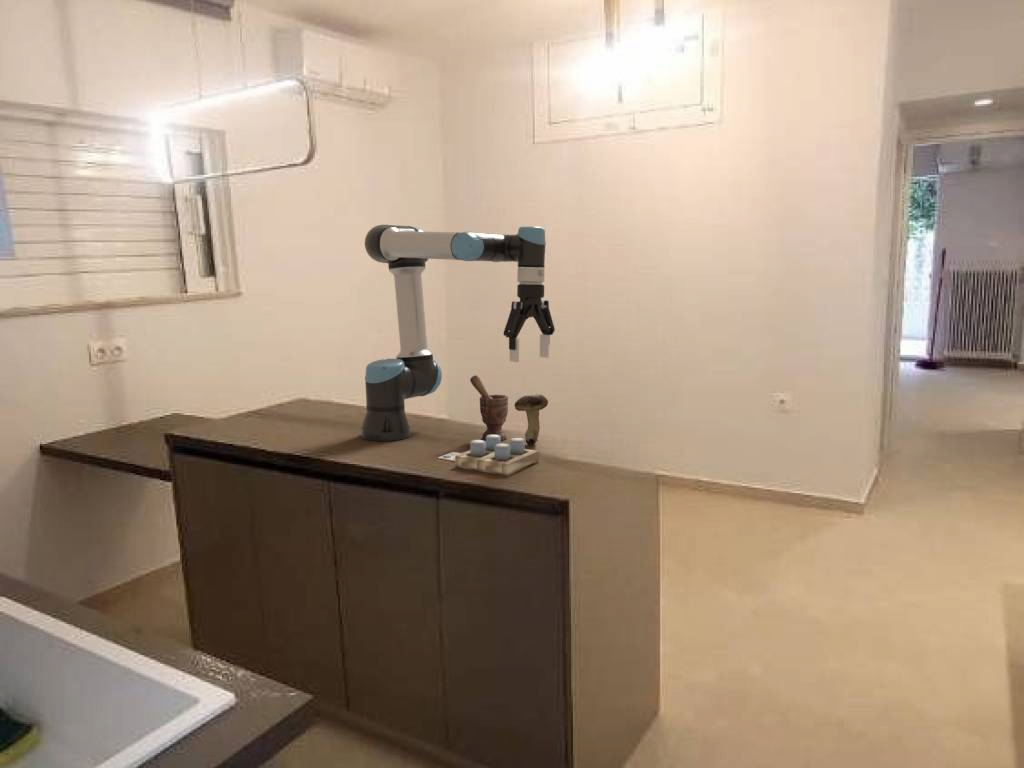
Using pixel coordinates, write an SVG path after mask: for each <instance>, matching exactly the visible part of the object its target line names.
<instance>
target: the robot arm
mask: <svg viewBox="0 0 1024 768" xmlns="http://www.w3.org/2000/svg"><path fill="white" fill-rule="evenodd" d="M546 244H547V242H546V231H545V228H544V227H541V226H520V227H519V228H518V231H517V234H499V233H498V234H497V233H480V232H473V231H462V232H461V231H459V232H458V231H455V232H454V231H424V230H423V229H420V228H419V227H414V226H412V225H391V224H378V225H376V226H374V227H371V229H369V231H368V232H367V233H366V235H365V238H364V249H365V252H367V254H368V256H369V257H370V258H371V259H372V260H374V261H375V262H378V263H382V264H388V265H387V266H388V271H389V272H390V273H391V274H392V275H393V278H394V290H395V302H396V310H397V323H398V324H397V325H398V335H399V347H400V351H399V352H398V354H397V355H396V358H386V359H383V358H382V359H379V360H378V359H377V360H374V361H371V362H369V363H368V364H367V366H365V367H366V368H365V376H364V380H365V398H366V399H365V406H366V412H365V415H364V419H363V423H362V427H361V429H360V435H361V438H362V439H364V440H366V441H367V440H368V441H373V442H375V441H376V442H377V441H378V442H386V441H388V442H390V441H399V440H403V439H404V440H405V439H407V438H409V437H410V436H411V435H412V433H411V432H412V431H411V430H412V428H411V426H410V425H409V420H408V418H407V414H406V411H405V410H406V409H405V406H406V405H405V400H407V399H412V398H417V397H425V396H427V395H430V394H433V393H434V392H436V390H437V389H438V388H439V387H440V385H441V382H442V377H443V373H442V368H441V365H439V363H438V361H437V360H436V359H434V356H433V355H434V353H433V352H432V351H430V350H429V348H428V339H427V337H428V336H427V328H426V314H425V305H424V302H425V301H424V291H423V279H422V278H423V277H422V274H423V272H424V271H425V270H426V262H428V261H429V259H430V260H449V261H450V260H453V261H464V262H493V263H501V262H503V263H505V262H511V263H512V262H516V263H517V273H516V274H517V279H516V282H518V284H517V286H516V287H517V291H516V292H517V293H516V296H517V298H519V301H516V300H515V301H511V306H510V308H511V309H510V312H509V316H508V318H507V321H506V324H505V327H504V330H503V336H505V338H508V349H509V362H513V363H519V361H520V338H519V337H518V336H519V335H520V332H521V331H522V328H523V326H524V324H525V322H526V320H528V319H529V318H534V321H535V322H536V324H537V326H538V328H539V330H540V332H541V334H540V335H539V358H546V359H547V358H549V357H550V356H549V354H550V353H549V351H550V338H551V337H550V336H552V335H554V332H556V328H555V324H554V322H553V318H552V315H551V312H550V311H551V310H550V303H549V300H542V299H543V298H544V297H545V285H544V284H543V283H544V282H545V266H546V265H545V263H546V261H545V259H546V256H545V255H546Z"/></svg>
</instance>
